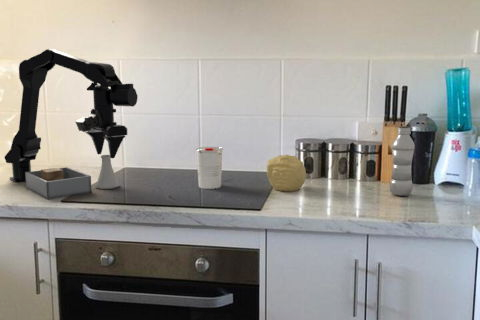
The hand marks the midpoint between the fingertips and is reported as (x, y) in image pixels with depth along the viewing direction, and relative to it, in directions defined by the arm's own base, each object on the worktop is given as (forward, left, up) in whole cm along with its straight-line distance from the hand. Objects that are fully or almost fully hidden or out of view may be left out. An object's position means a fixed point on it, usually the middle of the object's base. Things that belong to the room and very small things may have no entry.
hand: (105, 156), depth 164 cm
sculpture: (+38, +41, -10) cm, 57 cm away
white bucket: (+20, +25, -10) cm, 34 cm away
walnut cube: (-10, -13, -9) cm, 19 cm away
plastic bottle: (+65, +61, -10) cm, 90 cm away
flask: (0, 0, -10) cm, 10 cm away
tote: (-5, -13, -10) cm, 17 cm away
